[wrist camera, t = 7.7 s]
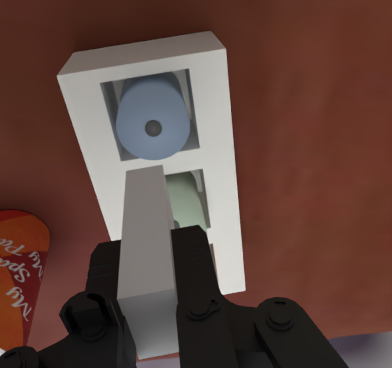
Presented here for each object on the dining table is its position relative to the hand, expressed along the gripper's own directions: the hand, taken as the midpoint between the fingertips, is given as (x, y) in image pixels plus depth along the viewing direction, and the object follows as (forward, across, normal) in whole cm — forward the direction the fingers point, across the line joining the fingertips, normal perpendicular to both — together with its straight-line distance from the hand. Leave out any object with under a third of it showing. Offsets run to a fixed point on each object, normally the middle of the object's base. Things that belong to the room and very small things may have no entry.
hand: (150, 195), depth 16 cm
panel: (+15, 0, -7) cm, 17 cm away
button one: (+14, 0, 0) cm, 14 cm away
